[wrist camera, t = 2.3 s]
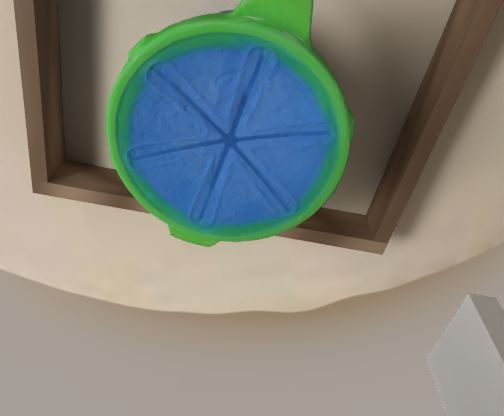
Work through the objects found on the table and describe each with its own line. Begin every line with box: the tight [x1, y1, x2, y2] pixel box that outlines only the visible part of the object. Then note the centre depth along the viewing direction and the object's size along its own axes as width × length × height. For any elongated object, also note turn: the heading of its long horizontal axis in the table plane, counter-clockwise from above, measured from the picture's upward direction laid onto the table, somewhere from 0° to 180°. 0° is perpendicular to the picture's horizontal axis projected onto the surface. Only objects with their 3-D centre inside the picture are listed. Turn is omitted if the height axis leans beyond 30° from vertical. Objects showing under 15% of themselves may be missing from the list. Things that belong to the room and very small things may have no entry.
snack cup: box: [106, 0, 354, 247], centre depth 23 cm, size 16×10×10 cm
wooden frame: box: [14, 0, 503, 254], centre depth 26 cm, size 24×19×3 cm
